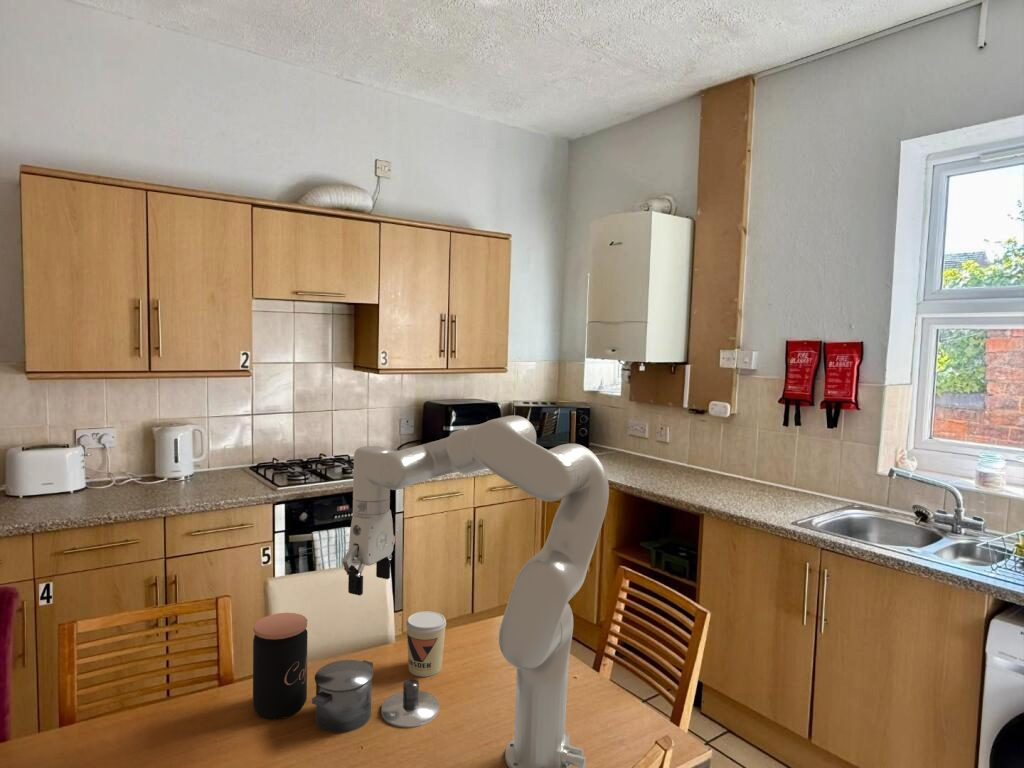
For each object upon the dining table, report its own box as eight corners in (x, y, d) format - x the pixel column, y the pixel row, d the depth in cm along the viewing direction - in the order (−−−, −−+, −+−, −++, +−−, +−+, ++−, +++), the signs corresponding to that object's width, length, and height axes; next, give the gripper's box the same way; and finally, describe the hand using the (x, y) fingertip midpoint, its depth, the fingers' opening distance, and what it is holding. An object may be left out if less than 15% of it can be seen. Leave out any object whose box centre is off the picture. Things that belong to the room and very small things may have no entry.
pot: (390, 702, 137) (391, 662, 136) (340, 747, 122) (341, 701, 121) (346, 689, 141) (346, 650, 141) (293, 730, 126) (293, 686, 125)
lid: (449, 704, 138) (450, 676, 137) (420, 735, 127) (420, 705, 126) (401, 690, 142) (402, 663, 142) (369, 719, 131) (370, 690, 131)
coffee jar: (289, 725, 128) (290, 638, 127) (241, 717, 130) (242, 631, 129) (316, 696, 138) (317, 615, 137) (271, 689, 140) (272, 609, 139)
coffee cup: (398, 674, 148) (399, 624, 148) (415, 655, 157) (416, 608, 157) (435, 681, 146) (436, 630, 145) (451, 662, 155) (452, 614, 154)
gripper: (361, 518, 124) (359, 604, 125) (409, 499, 140) (407, 575, 141) (329, 513, 127) (328, 597, 128) (380, 494, 143) (378, 569, 144)
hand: (369, 585), depth 135 cm, fingers open, 9 cm apart
